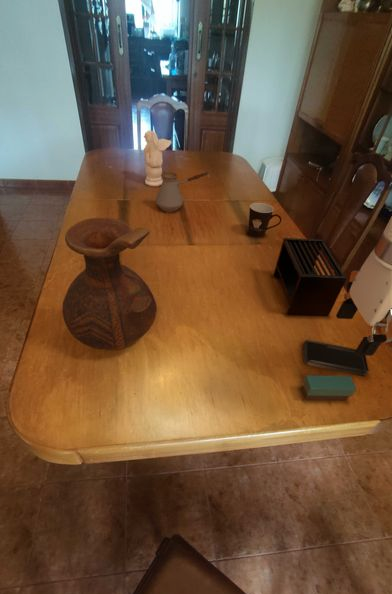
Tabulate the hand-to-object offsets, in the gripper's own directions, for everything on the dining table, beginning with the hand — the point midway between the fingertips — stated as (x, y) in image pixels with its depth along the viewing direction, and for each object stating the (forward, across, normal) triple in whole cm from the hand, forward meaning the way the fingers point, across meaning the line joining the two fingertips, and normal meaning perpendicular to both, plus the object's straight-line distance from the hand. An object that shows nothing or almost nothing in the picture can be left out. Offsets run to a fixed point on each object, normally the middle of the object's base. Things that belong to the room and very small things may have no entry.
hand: (352, 335), depth 59 cm
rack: (+18, +36, -5) cm, 40 cm away
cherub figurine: (+18, +120, +43) cm, 129 cm away
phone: (+18, +10, -7) cm, 21 cm away
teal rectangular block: (+18, -1, -1) cm, 18 cm away
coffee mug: (+18, +73, +2) cm, 75 cm away
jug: (+18, +18, +48) cm, 55 cm away
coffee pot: (+18, +93, +32) cm, 100 cm away
